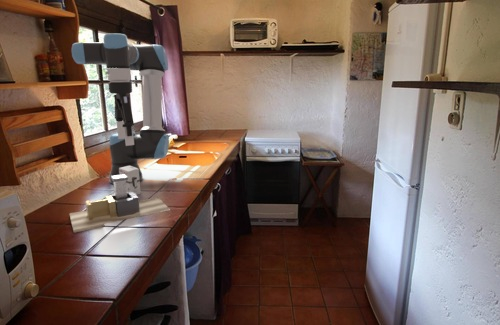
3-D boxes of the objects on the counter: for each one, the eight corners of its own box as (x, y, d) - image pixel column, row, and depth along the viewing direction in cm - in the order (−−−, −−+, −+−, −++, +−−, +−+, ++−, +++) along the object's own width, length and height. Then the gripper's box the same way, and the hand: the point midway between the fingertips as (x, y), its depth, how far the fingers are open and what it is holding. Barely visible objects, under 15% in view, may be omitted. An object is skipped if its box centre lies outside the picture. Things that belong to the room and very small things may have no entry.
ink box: (120, 194, 145) (117, 167, 142) (131, 191, 148) (128, 165, 146) (130, 198, 139) (128, 171, 136) (141, 195, 143) (139, 168, 140)
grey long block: (114, 210, 124) (111, 176, 121) (127, 207, 127) (124, 174, 124) (117, 214, 121) (113, 179, 118) (130, 211, 123) (127, 177, 120)
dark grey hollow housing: (113, 208, 126) (111, 194, 125) (134, 204, 130) (132, 190, 129) (118, 217, 118) (116, 202, 117) (140, 212, 122) (139, 198, 121)
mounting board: (69, 216, 122) (69, 213, 122) (158, 199, 138) (157, 197, 138) (73, 232, 109) (73, 229, 108) (171, 212, 125) (170, 209, 124)
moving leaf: (86, 214, 121) (84, 199, 119) (112, 209, 125) (111, 195, 124) (89, 221, 114) (87, 206, 113) (116, 216, 119) (115, 201, 117)
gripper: (102, 80, 126) (109, 137, 131) (114, 82, 105) (121, 149, 111) (123, 80, 129) (129, 135, 135) (139, 82, 109) (145, 146, 114)
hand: (125, 141), depth 123 cm, fingers open, 13 cm apart
